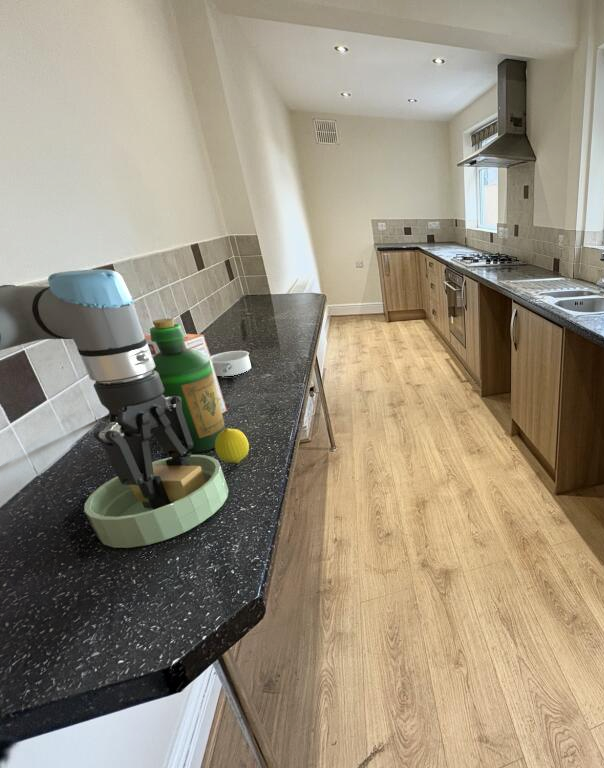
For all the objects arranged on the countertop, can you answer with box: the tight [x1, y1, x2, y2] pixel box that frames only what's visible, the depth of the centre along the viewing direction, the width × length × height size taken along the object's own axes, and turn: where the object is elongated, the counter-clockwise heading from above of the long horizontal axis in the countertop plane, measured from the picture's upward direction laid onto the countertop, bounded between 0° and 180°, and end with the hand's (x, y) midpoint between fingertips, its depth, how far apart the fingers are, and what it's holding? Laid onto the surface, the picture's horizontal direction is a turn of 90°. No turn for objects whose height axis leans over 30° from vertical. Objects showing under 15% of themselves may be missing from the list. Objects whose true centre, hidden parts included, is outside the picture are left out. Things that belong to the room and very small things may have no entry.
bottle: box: [149, 318, 226, 454], centre depth 85 cm, size 11×11×28 cm
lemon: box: [214, 427, 250, 464], centre depth 82 cm, size 6×6×8 cm
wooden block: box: [130, 465, 206, 508], centre depth 70 cm, size 9×4×6 cm, turn 88°
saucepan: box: [210, 350, 252, 378], centre depth 127 cm, size 12×20×6 cm, turn 29°
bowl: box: [83, 454, 229, 549], centre depth 69 cm, size 17×17×6 cm
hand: (175, 499), depth 71 cm, fingers closed on wooden block, 4 cm apart
